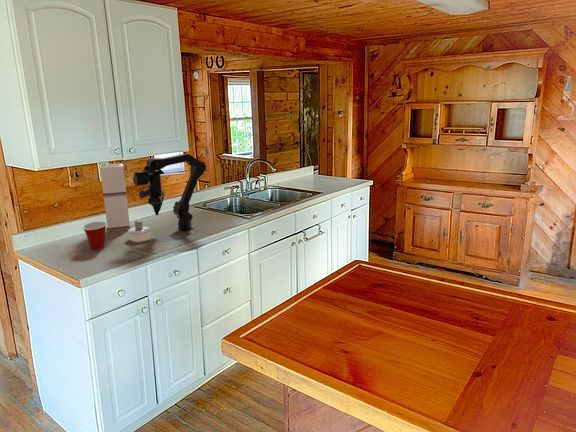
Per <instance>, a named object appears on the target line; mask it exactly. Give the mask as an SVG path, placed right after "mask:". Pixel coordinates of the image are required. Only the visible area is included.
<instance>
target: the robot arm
mask: <svg viewBox="0 0 576 432" xmlns="http://www.w3.org/2000/svg"><path fill="white" fill-rule="evenodd" d="M181 163H186V164H187V165H188V166H190V168H189V177H188V180H187V183H186V185H185V187H184V190H183V193H182V196H181V198H180V200H178V201H175V202H174V205H173V207H172V209H173V210H172V212H173V214H174V215H175V216H176V218H177V219H178V221H177V224H178V225H177V226H178V228H177V229H176V231H180V232H188V231H191V230H194V227H192V220H193V217H194V215H193V214H191V212H189V211H190V202H191V198H192V196H193V193H194V191H195V189H196V186H197V183H198V181H199V179H200V177H202V176H203V175H204V172H205V171H206V170H207V165H206V163H205V162H204V161H202V160H201V161H200V159H197V158H196V157H194V156H192V155H191V154H190V153H182V154H178V155H173V156H172V155H171V156H168V157H164V158H163V157H162V158H161V157H160V158H159V157H157V158H156V157H153V158H152V157H151V158H148V159H147V160H146V163H145V166H144V168H143V170H142V171H134V172H133V178H132V180H133V181H132V182H133V184H134V186H135V187H137V186H139V187H140V186H144V185H145V186H146V185H148V184H149V186H148V188H146V189H142V190H140V191H139V192H138V196H139V198H140V199H141V200H142V199H144V198H146V197H148V199H147V203H148V204H149V205H150V206H152V208H153V211H154V214H155V216H159V213H160V211H161V209H162V206H163V202H164V198H165V191H164V190H163V189H162V185H163V184H162V177H161V175H165V172H164V171H163V169H164V168H165V167H167V166H172V165H177V164H181Z"/></svg>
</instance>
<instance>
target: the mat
mask: <svg viewBox="0 0 576 432" xmlns="http://www.w3.org/2000/svg"><path fill="white" fill-rule="evenodd" d="M181 237H182V236H181V235H177V234H172V233H168V232H166V233H163V234H159V235H156V236H153V237H151V238H150V237H149V239H150V240H155V241H158V242H162V243H167V242H169V241H173V240H176V239H179V238H181Z"/></svg>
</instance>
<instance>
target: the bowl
mask: <svg viewBox="0 0 576 432" xmlns="http://www.w3.org/2000/svg"><path fill="white" fill-rule="evenodd" d="M129 237H130V241H131V242H134V243H141V242H145V241H149V239H150V232H148V233H144V234H136V235H134V234H129Z"/></svg>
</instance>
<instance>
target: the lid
mask: <svg viewBox="0 0 576 432" xmlns="http://www.w3.org/2000/svg"><path fill="white" fill-rule="evenodd" d="M151 230H152V229H151V227H148V226H143V220H142V219H141V220H140V219H139V220H135V221H134V227H132V228H131V227H130V229H129V230H127V233H128V234H129V235H130V234H134V235H136V234H144V233H148V232H149V233H150V232H151Z"/></svg>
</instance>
